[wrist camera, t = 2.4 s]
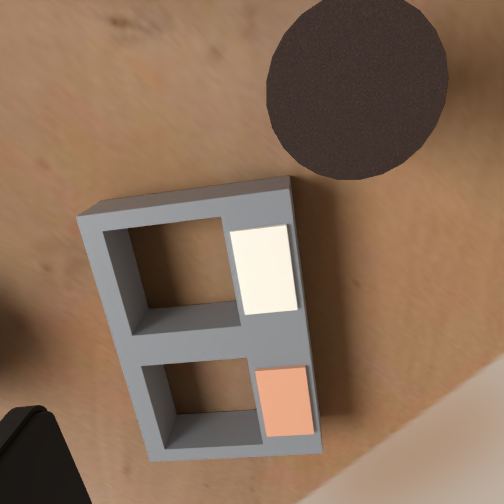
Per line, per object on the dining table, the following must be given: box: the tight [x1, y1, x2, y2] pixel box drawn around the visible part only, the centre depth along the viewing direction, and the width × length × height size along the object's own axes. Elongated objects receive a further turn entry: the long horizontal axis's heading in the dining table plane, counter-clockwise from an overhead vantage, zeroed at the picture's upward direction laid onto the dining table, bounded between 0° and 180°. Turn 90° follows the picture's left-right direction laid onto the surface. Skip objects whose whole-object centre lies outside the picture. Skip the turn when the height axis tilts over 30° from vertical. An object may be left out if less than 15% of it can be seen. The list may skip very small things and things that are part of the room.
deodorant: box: [266, 0, 448, 180], centre depth 22 cm, size 6×6×15 cm
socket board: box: [76, 175, 323, 462], centre depth 34 cm, size 14×21×4 cm, turn 9°
